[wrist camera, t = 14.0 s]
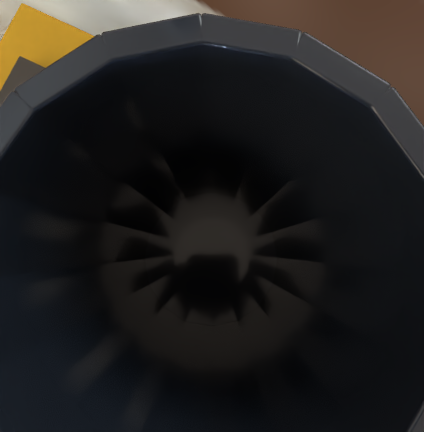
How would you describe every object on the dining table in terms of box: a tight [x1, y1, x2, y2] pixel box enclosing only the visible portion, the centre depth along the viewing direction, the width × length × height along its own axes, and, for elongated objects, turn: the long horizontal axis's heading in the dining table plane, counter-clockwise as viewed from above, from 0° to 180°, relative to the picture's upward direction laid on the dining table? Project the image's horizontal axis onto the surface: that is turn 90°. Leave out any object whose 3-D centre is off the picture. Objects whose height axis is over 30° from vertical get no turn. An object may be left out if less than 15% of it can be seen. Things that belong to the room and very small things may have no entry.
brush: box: [0, 3, 94, 105], centre depth 15 cm, size 12×6×4 cm, turn 154°
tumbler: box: [0, 13, 424, 432], centre depth 11 cm, size 6×6×12 cm
